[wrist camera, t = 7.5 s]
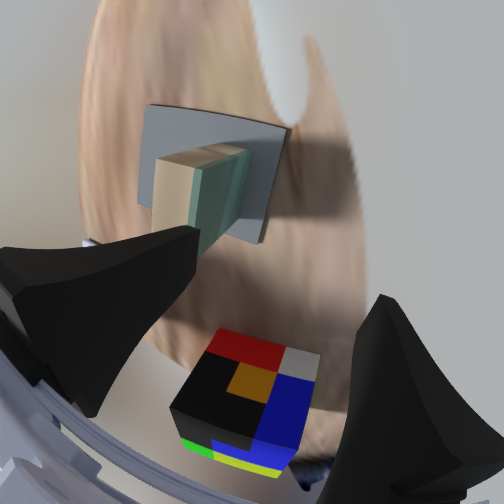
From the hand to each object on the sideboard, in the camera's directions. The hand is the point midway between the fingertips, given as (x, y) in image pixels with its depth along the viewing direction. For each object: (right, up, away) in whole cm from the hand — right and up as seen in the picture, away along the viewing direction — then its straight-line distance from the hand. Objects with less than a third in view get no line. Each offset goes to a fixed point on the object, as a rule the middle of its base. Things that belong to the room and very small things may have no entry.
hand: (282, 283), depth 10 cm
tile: (-3, +6, +9) cm, 11 cm away
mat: (-5, +7, +9) cm, 13 cm away
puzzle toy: (0, -12, +18) cm, 21 cm away
